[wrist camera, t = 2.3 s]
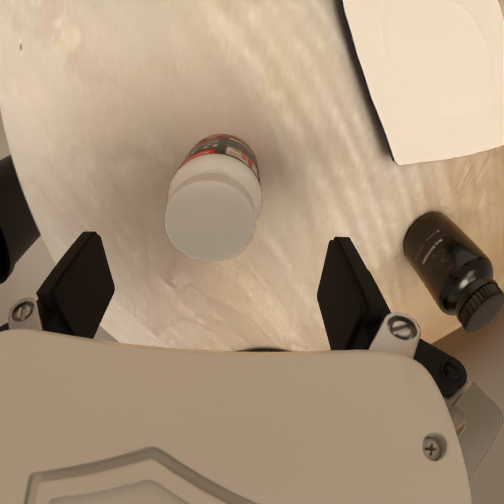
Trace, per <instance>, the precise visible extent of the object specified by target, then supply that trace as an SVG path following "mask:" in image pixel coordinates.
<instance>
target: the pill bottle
mask: <svg viewBox="0 0 504 504" xmlns="http://www.w3.org/2000/svg"><path fill="white" fill-rule="evenodd" d="M261 208H262V189H261V184H260V178H259V172H258V166H257V161H256V158H255V155H254V153H253V152H252V150H251V149H250V147H249V146H248V145H247V144H246V143H245V142H243V141H242V140H240V139H238V138H236V137H234V136H230V135H213V136H210V137H207V138H205V139H203V140H202V141H200V142H199V143H198V144H196V145H195V146H194V148H193V149H192V150H191V151H190V153H189V154H188V156H187V157H186V159H185V160H184V162H183V163H182V165H181V166H180V167H179V169H178V170H177V172H176V173H175V175H174V177H173V179H172V181H171V183H170V186H169V190H168V204H167V207H166V210H165V216H164V225H165V230H166V233H167V236H168V238H169V240H170V241H171V243H172V244H173V246H174V247H175V248H176V249H177V250H178V251H180V252H181V253H182V254H184V255H185V256H187V257H189V258H192V259H194V260H197V261H202V262H220V261H224V260H228V259H231V258H233V257H234V256H236V255H238V254H239V253H241V252H242V251H243V250H244V249H245V248H246V247H247V246H248V244H249V243H250V241H251V240H252V237H253V235H254V231H255V225H256V221H257V219H258V217H259V215H260V212H261Z"/></svg>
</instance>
